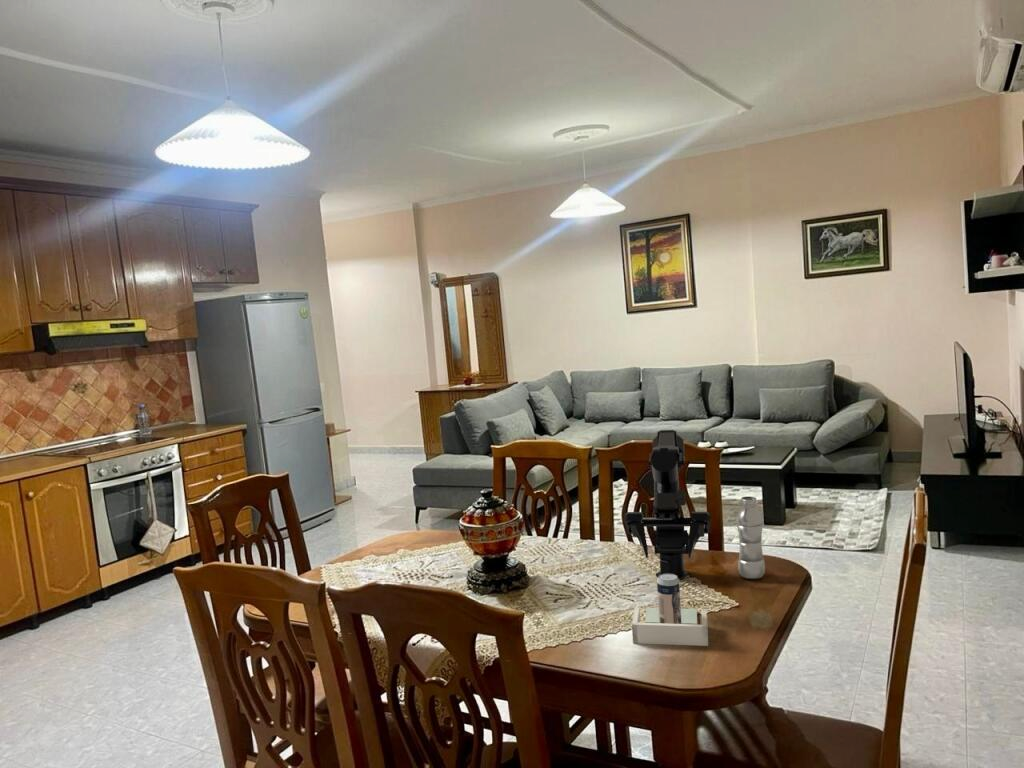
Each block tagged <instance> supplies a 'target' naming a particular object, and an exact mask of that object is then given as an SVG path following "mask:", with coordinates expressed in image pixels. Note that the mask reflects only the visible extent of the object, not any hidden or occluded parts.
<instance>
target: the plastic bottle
mask: <svg viewBox="0 0 1024 768" xmlns="http://www.w3.org/2000/svg"><path fill="white" fill-rule="evenodd" d="M740 500H741V501H740V506H741V508H740V510H739V511H738V512H737V515H736V518H735V519H736V526H737V532H738V533H737V534H738V538H739V556H738V562H737V568H738V569H737V570H738V573H739V574H740V576H741V577H743V578H745V579H750V580H757V579H760V578H763V576H764V575H765V572H766V564H765V560H764V554H763V547H762V541H763V540H762V539H763V538H762V537H763V535H762V534H763V526H764V519H763V516H762V513H761V512H760V511H759V509H758V508H757V506H758V503H757V497H755V496H749V495H748V496H742V497H741V498H740Z"/></svg>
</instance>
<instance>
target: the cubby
mask: <svg viewBox="0 0 1024 768" xmlns="http://www.w3.org/2000/svg"><path fill="white" fill-rule="evenodd" d="M700 610H701V624H699V623H697V624H666V623H645V622H641V612H640V611H641V609H640V606H634V610H633V616H632V621H631V630H632V631H631V633H632V644H639V645H641V644H643V645H644V644H645V645H670V646H671V645H672V646H673V645H674V646H697V647H700V646H701V647H709V632H708V631H709V628H708V616H707V608H701V609H700Z"/></svg>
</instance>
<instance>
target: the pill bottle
mask: <svg viewBox="0 0 1024 768" xmlns="http://www.w3.org/2000/svg"><path fill="white" fill-rule="evenodd" d="M656 585H657V586H656V589H657V605H658V607H657V608H658V610H659V623H666V624H681V609H682V608H681V606H682V605H681V593H680V592H681V589H680V588H681V587H680V579H678V577H677V576H676V575H674V574H661V575H659V576H657V579H656Z"/></svg>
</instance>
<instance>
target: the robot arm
mask: <svg viewBox="0 0 1024 768" xmlns="http://www.w3.org/2000/svg"><path fill="white" fill-rule="evenodd" d="M684 440H685V439H684V438H682V436H680V435H678V434H677V430H674V429H661V430H659V431H657V435H656V436H655V438H653V439H652V452H651V453H649V456H648V457H649V458H648V467H649V469H650V470H651V472H652V478H653V493H654V494H653V495H654V496H653V497H654V501H653V504H652V505H653V506H652V508H653V512H652V513H653V515H654V517H644V515H643V511H627V512H626V513H625V514H624V523H625V529H626V533H627V534H629V535H630V534H631V535H632V537H636V538H637V539H638V541H639V543H640V545H641V547H642V550H643V553H644V556H645V558H646V559H648V558H649V549H648V544H647V543H648V542H647V539H646V538H647V537H646V532H645V527H655V529H653V549H654V554H655V555H658V554H659V568H660V570H659V571H658V572H656V573H655V577H659V575H661V574H674V575H676V576H677V577H678V579H679V580H681V579H682V578H684V577H686V576H687V575H690V573H691V571H690V570H685V555H688V559H691V558H692V555H693V553H694V550H695V547H696V545H697V543H698V542H699V540H700V538H704V537H705V535H707V534H711V518H710V513H709V512H708V511H691V517H683V516H682V515H681V510H680V507H681V506H686V491H685V489H680V481H679V473H680V469H682V468H683V467H684V466H685V465H686V464H685V443H684V442H685V441H684ZM685 527H689V532H688V530H687V529H685Z"/></svg>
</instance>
